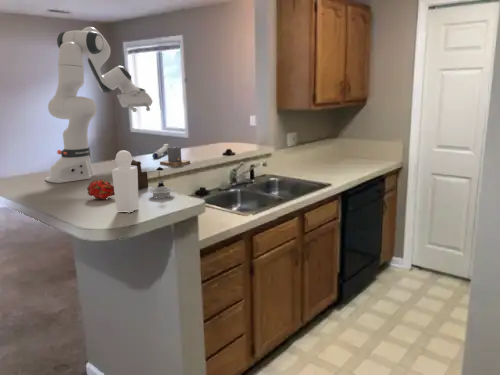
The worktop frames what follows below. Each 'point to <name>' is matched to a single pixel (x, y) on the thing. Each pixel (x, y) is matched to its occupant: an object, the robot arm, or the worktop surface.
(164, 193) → the grey knobbed stem base
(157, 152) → the grey dark-ended cylinder
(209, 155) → the worktop surface
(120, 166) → the white bottle
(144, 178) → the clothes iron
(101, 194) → the dragon fruit
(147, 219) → the worktop surface
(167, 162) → the post plate
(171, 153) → the dark grey box
